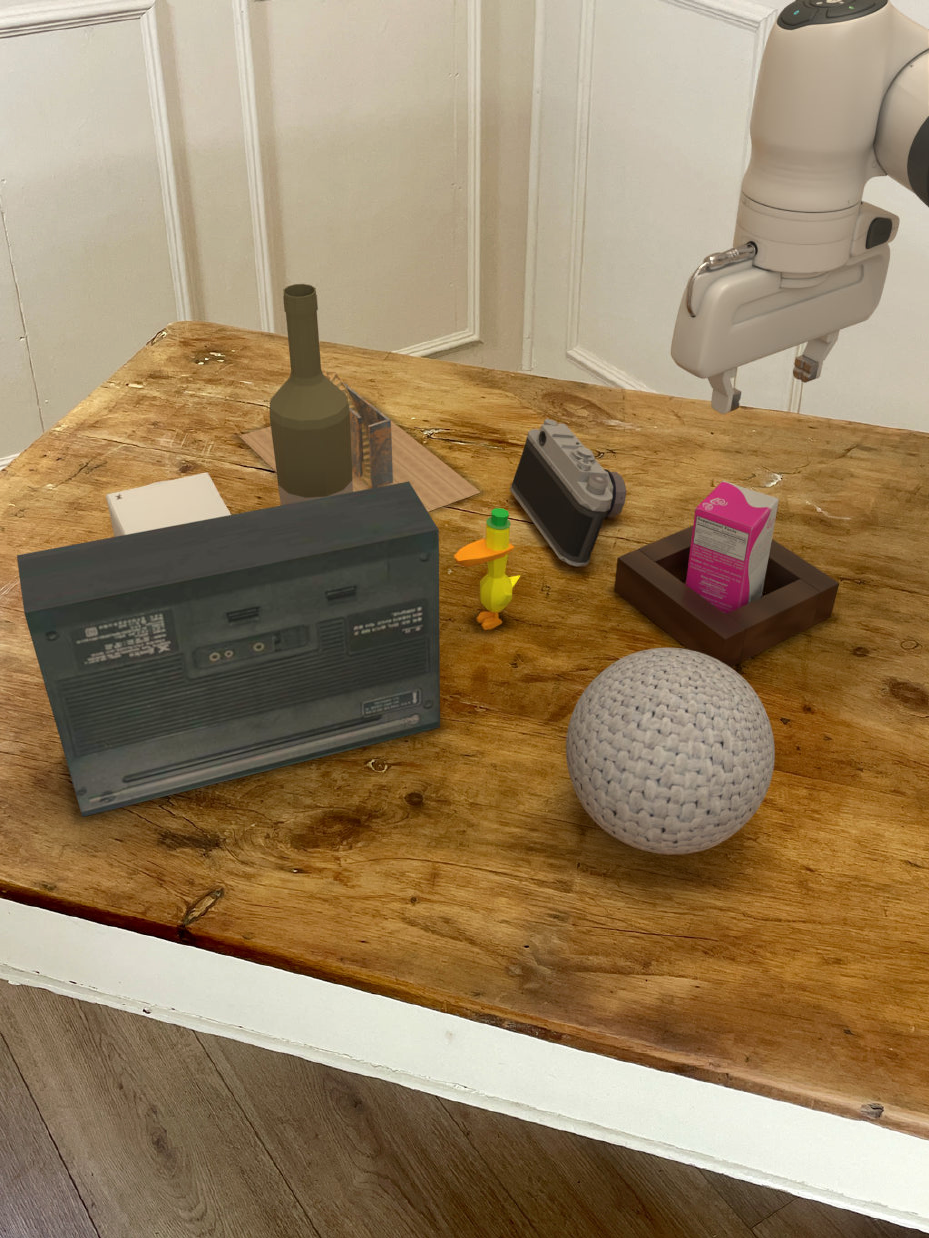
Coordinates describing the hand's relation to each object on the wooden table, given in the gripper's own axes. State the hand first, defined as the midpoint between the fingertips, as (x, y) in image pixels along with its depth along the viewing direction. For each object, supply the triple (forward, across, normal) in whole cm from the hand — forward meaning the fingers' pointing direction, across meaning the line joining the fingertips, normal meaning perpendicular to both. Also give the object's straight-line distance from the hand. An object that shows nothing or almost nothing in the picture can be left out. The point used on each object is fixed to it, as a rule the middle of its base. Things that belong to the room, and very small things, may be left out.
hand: (765, 393), depth 99 cm
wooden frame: (+22, -1, 0) cm, 22 cm away
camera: (+22, -4, +18) cm, 29 cm away
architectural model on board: (+22, -17, +41) cm, 50 cm away
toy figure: (+22, -21, +10) cm, 32 cm away
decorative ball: (+22, -24, -17) cm, 37 cm away
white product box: (+22, -45, +22) cm, 55 cm away
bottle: (+22, -31, +23) cm, 44 cm away
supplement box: (+22, -1, 0) cm, 22 cm away
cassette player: (+22, -45, +8) cm, 51 cm away
